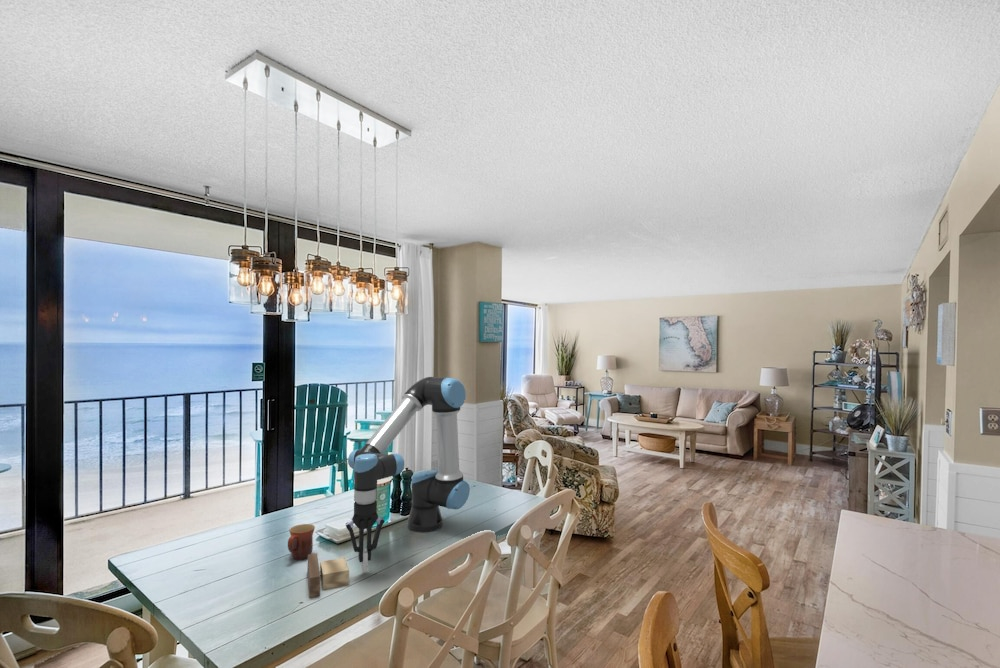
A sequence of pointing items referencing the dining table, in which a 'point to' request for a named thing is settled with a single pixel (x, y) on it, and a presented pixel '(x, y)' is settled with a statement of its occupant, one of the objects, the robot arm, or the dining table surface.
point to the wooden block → (313, 575)
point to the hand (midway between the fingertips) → (364, 570)
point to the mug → (301, 541)
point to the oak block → (334, 573)
